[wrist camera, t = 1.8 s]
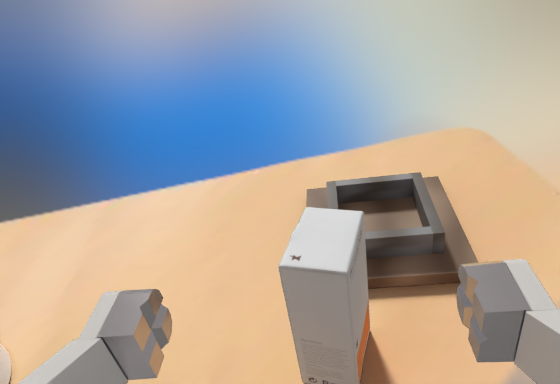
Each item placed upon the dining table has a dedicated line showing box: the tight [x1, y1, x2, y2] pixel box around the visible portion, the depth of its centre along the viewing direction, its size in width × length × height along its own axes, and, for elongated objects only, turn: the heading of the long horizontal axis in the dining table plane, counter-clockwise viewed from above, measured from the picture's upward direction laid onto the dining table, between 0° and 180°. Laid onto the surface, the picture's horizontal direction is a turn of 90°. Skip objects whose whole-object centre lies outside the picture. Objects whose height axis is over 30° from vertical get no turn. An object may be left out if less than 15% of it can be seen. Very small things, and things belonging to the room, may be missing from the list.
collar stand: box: [307, 172, 478, 288], centre depth 42 cm, size 15×15×4 cm
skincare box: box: [279, 207, 370, 384], centre depth 29 cm, size 6×4×12 cm
